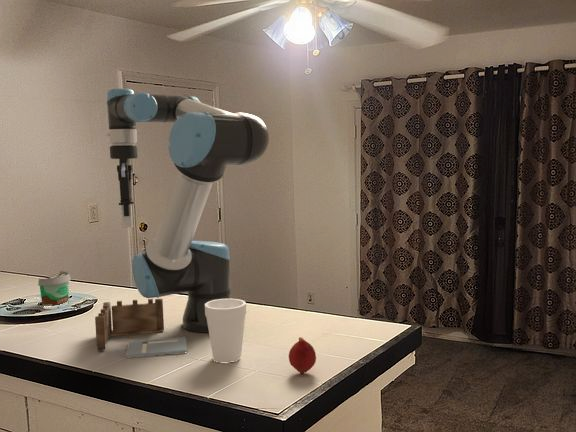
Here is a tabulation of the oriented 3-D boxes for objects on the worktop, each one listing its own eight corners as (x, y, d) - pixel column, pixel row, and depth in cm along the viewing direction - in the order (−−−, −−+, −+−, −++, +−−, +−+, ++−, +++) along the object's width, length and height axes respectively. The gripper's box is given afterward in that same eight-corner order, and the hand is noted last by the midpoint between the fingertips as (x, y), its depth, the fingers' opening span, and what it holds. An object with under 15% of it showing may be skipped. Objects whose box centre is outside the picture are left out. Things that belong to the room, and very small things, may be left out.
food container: (58, 311, 178) (55, 279, 177) (39, 311, 180) (37, 279, 179) (80, 301, 190) (78, 271, 189) (62, 300, 192) (61, 270, 191)
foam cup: (227, 349, 142) (225, 296, 141) (255, 357, 136) (254, 302, 135) (198, 360, 135) (196, 305, 133) (226, 369, 129) (224, 311, 127)
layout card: (185, 340, 149) (185, 336, 149) (186, 353, 140) (186, 349, 140) (129, 344, 147) (129, 340, 147) (126, 358, 137) (126, 354, 137)
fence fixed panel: (164, 327, 160) (162, 296, 159) (163, 332, 156) (162, 300, 155) (105, 332, 157) (104, 300, 156) (104, 336, 153) (102, 304, 152)
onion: (315, 368, 129) (314, 332, 128) (317, 378, 123) (316, 341, 122) (288, 368, 128) (287, 333, 128) (289, 379, 123) (288, 342, 122)
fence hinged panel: (103, 334, 154) (102, 303, 153) (111, 333, 154) (110, 303, 153) (96, 350, 141) (94, 317, 140) (104, 350, 141) (103, 317, 140)
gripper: (111, 145, 172) (116, 225, 175) (107, 144, 159) (111, 230, 162) (138, 144, 173) (141, 223, 176) (135, 144, 161) (139, 229, 163)
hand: (127, 227), depth 169 cm, fingers closed
